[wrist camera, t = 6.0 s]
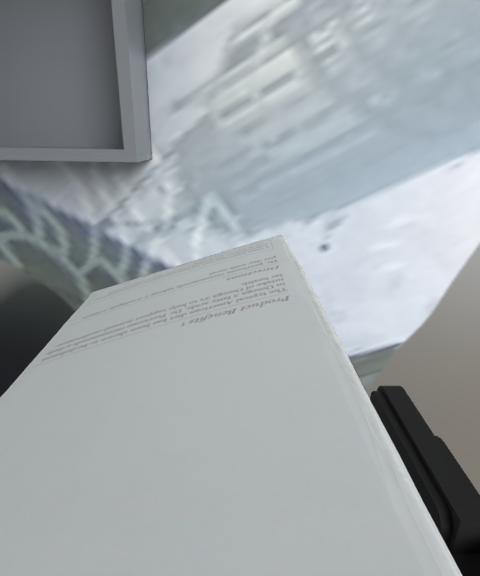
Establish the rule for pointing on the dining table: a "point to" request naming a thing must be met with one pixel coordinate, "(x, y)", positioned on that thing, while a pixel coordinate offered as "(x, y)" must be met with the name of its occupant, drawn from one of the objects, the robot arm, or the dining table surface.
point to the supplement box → (205, 438)
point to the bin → (73, 81)
